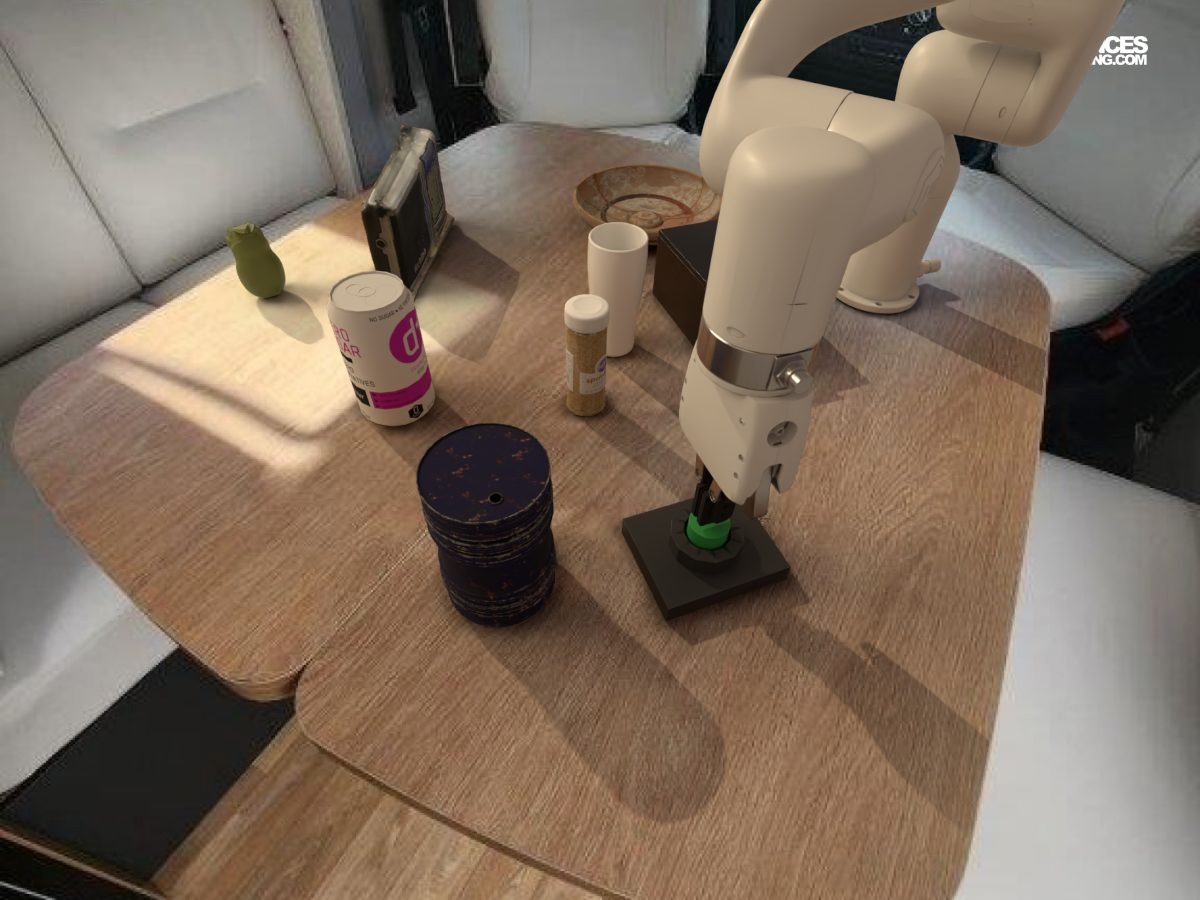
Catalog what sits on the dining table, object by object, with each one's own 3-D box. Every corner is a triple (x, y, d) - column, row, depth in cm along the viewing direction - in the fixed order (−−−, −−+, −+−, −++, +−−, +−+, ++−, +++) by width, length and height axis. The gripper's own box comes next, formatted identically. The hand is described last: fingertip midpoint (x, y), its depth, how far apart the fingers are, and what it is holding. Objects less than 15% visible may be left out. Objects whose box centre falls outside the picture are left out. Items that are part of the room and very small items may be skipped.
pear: (256, 310, 83) (225, 240, 75) (241, 292, 85) (210, 223, 78) (298, 295, 85) (271, 226, 78) (282, 278, 88) (255, 210, 81)
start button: (715, 512, 57) (718, 500, 56) (734, 543, 55) (738, 531, 54) (679, 523, 56) (682, 511, 55) (698, 555, 54) (701, 543, 53)
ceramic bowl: (625, 179, 113) (627, 150, 109) (743, 218, 104) (749, 189, 100) (544, 228, 100) (542, 198, 96) (670, 278, 91) (674, 247, 87)
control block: (731, 498, 63) (738, 472, 60) (785, 580, 57) (796, 555, 54) (621, 532, 60) (623, 506, 57) (665, 622, 54) (670, 598, 51)
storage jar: (434, 552, 58) (401, 441, 47) (535, 520, 61) (526, 407, 50) (462, 646, 52) (432, 543, 41) (573, 605, 55) (572, 499, 44)
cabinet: (785, 335, 82) (805, 270, 75) (700, 355, 79) (712, 288, 72) (730, 277, 91) (743, 214, 84) (652, 293, 88) (658, 229, 81)
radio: (410, 306, 84) (385, 198, 73) (350, 298, 85) (316, 190, 74) (468, 224, 100) (454, 125, 89) (416, 218, 101) (397, 119, 90)
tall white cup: (634, 366, 77) (644, 255, 66) (581, 358, 78) (581, 247, 67) (643, 334, 81) (653, 225, 70) (592, 326, 82) (594, 218, 71)
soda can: (448, 390, 73) (426, 276, 62) (412, 437, 68) (379, 323, 57) (388, 374, 75) (355, 261, 64) (347, 419, 69) (303, 304, 58)
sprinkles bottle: (598, 421, 70) (602, 322, 60) (560, 412, 71) (557, 313, 61) (610, 395, 73) (615, 297, 63) (573, 387, 74) (573, 288, 64)
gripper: (878, 403, 37) (796, 573, 50) (748, 272, 46) (708, 445, 59) (767, 433, 35) (713, 602, 48) (655, 290, 44) (636, 464, 57)
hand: (711, 514), depth 54 cm, fingers closed
